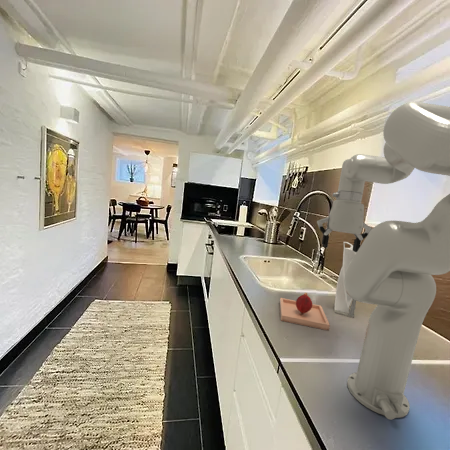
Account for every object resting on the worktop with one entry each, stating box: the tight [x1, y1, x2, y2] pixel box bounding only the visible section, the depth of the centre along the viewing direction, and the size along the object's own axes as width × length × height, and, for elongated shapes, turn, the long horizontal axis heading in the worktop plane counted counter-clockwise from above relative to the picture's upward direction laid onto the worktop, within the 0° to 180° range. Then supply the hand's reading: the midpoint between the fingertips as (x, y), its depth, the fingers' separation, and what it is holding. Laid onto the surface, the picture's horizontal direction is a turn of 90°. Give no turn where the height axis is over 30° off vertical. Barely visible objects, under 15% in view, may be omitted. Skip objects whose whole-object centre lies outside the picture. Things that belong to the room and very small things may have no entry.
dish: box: [279, 297, 331, 332], centre depth 99 cm, size 16×16×2 cm
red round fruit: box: [295, 292, 313, 314], centre depth 99 cm, size 6×6×8 cm
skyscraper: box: [333, 241, 357, 319], centre depth 107 cm, size 8×8×28 cm
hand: (339, 249), depth 89 cm, fingers open, 9 cm apart
